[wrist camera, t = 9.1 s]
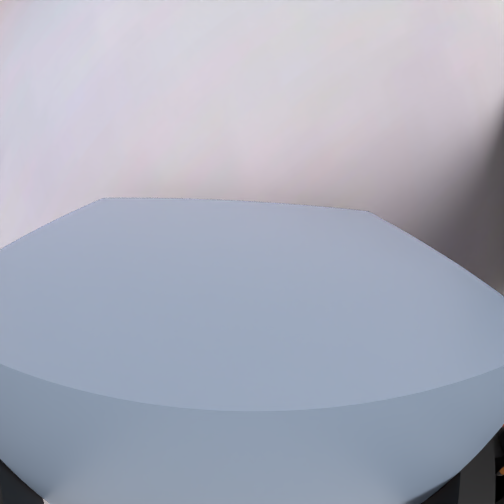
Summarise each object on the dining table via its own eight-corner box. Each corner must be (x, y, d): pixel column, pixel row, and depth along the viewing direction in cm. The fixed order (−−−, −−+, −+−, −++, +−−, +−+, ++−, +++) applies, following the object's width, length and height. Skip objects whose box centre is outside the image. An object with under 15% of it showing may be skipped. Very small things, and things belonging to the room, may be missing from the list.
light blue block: (103, 197, 10) (-92, 313, 2) (368, 211, 11) (557, 339, 2) (134, 391, 13) (93, 533, 5) (321, 398, 14) (363, 540, 6)
